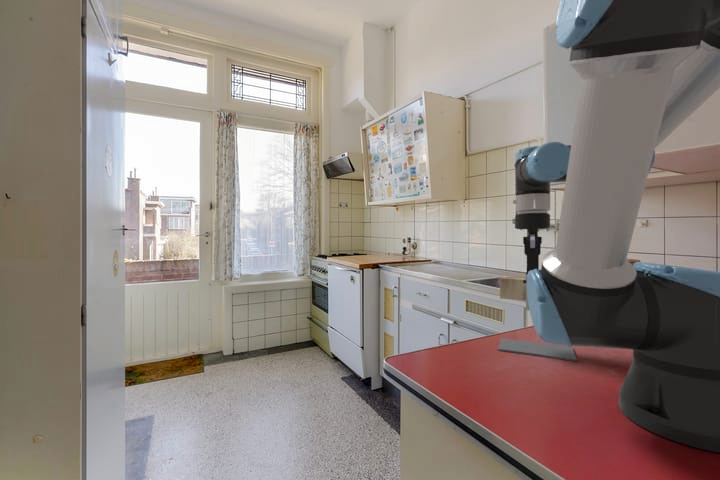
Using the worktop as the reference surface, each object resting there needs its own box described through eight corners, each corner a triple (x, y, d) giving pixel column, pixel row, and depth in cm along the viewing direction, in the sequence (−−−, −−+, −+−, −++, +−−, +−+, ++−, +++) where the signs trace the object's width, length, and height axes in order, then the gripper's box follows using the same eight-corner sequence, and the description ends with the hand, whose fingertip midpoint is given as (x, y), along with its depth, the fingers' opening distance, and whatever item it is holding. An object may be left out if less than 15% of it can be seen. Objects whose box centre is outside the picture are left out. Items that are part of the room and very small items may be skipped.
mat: (576, 361, 73) (576, 359, 73) (498, 350, 80) (498, 348, 80) (572, 348, 81) (572, 346, 81) (500, 339, 88) (500, 338, 88)
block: (501, 275, 86) (554, 278, 81) (501, 294, 87) (554, 298, 81) (500, 278, 82) (556, 281, 77) (499, 298, 82) (556, 302, 77)
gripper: (516, 215, 90) (516, 300, 91) (513, 211, 74) (513, 314, 75) (548, 214, 87) (547, 302, 88) (552, 210, 71) (552, 318, 71)
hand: (532, 307), depth 81 cm, fingers closed on block, 5 cm apart
